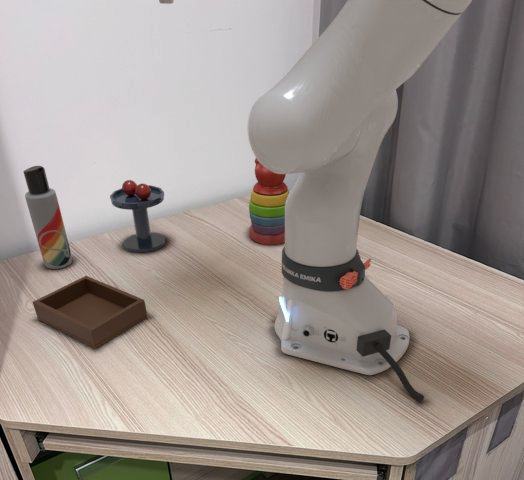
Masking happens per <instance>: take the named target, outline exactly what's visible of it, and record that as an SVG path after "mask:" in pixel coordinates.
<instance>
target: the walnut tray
mask: <svg viewBox="0 0 524 480" xmlns="http://www.w3.org/2000/svg"><path fill="white" fill-rule="evenodd" d="M32 305H33V309H34V312H35V315H36V317H37V320H38V321H40V322H42V323H44V324H46V325H48V326H50V327H52V328H54V329H56V330H58V331H60V332H62V333H64V334H65V335H68V336H69V337H72V338H74V339H76V340H77V341H80V342H81V343H83V344H85V345H88V346H89V347H91V348H93V349H98V348H99V347H101V346H102V345H104V344H106V343H107V342H109V341H111V340H112V339H114V338H116V337H118V336H119V335H121V334H123V333H124V332H126V331H127V330H129V329H131V328H133V327H134V326H136V325H137V324H139V323H140V322H142V321H143V320H145V319H147V318H148V313H147V307H146V301H145V299H143V298H141V297H138V296H137V295H133V294H131V293H129V292H127V291H124V290H121V289H119V288H117V287H115V286H113V285H109V284H107V283H105V282H102V281H101V280H97V279H95V278H93V277H90V276H89V275H85V276H82V277H80V278H78V279H76V280H74V281H72V282H70V283H68V284H66V285H64V286H62V287H60V288H58V289H56V290H54V291H52V292H49V293H48V294H46V295H44V296H41V297H39V298H38V299H36V300H33V301H32Z"/></svg>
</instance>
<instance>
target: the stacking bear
mask: <svg viewBox="0 0 524 480" xmlns="http://www.w3.org/2000/svg"><path fill="white" fill-rule="evenodd" d="M254 163H255V166H254V176H255V178H256V179H255V180H256V181H257V182H255V184H254V185H253V187H252V190H251V194H250V199H249V205H248V210H249V211H248V214H249V218H250V219H249V220H250V223H251V224H250V226H249V230H248V231H249V237H250V238H251V239H252V240H253V241H254V242H255V243H258V244H261V245H279V244H283V243H285V203H286V200H287V197H288V195H289V193H290V190H289V187H288V185H287V184H286V183H285V182H284V181H285V179H286V175H287V174H277V173H273V172H271V171H269V170H268V169H266V168H265V167H264V166H263V165H262V164H261V163H260V162H259V161H258V160H257V158H256V157H255V159H254Z"/></svg>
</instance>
